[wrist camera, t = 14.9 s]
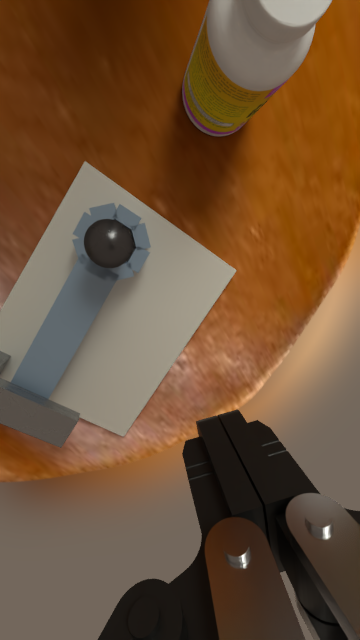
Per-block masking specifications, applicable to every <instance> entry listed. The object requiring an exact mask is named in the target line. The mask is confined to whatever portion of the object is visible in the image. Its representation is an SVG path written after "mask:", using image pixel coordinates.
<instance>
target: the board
mask: <svg viewBox="0 0 360 640" xmlns="http://www.w3.org/2000/svg"><path fill="white" fill-rule="evenodd" d="M110 203H114V204H115V207H116V210H117V208H118V206H119V204H121V205H122V206H124V207H125V208H127V209H128V210H130V211H131V212H133V213H134V214H136V215H137V216H139V217H140V218H141V220H140V222H139V224H142V223H145V225H146V230H147V234H148V238H149V242H150V246H151V247H150V248H146V249H145V250H147V251H148V252H150V254H149V256H148V257H147V259H146V261H145V262H144V264H143V266H142V268H141V269H140V271H139V273H137V272H136V271H134V270H133V272H134V276H133V277H129V278H125V279H121V280H117V281H116V282H115V284H114V286H113V288H112V289H111V291H110V293H109V295H108V296H107V298H106V300H105V302H104V303H103V305H102V307H101V309H100V310H99V312H98V314H97V315H96V317H95V319H94V321H93V322H92V324H91V326H90V328H89V329H88V331H87V333H86V335H85V336H84V338H83V340H82V342H81V343H80V345H79V347H78V348H77V350H76V352H75V354H74V355H73V357H72V359H71V361H70V362H69V364H68V366H67V368H66V369H65V371H64V373H63V375H62V376H61V378H60V380H59V382H58V383H57V385H56V387H55V388H54V390H53V392H52V394H51V395H50V397H49V400H51V401H54V402H56V403H58V404H60V405H62V406H65V407H67V408H69V409H71V410H74V411H76V412H78V413H80V416H79V417H80V418H82V419H84V420H86V421H89V422H91V423H93V424H96V425H98V426H100V427H102V428H105V429H107V430H109V431H111V432H114V433H116V434H118V435H120V436H123V437H124V436H125V434H126V433H127V431H128V430H129V428H130V427H131V425H132V424H133V422H134V421H135V420H136V418H137V417H138V415H139V414H140V412H141V411H142V409H143V408H144V406H145V405H146V403H147V402H148V400H149V399H150V397H151V396H152V394H153V393H154V392H155V390H156V389H157V387H158V386H159V384H160V383H161V381H162V380H163V378H164V377H165V375H166V374H167V372H168V371H169V369H170V368H171V366H172V365H173V364H174V362H175V361H176V359H177V358H178V356H179V355H180V353H181V352H182V350H183V349H184V347H185V346H186V344H187V343H188V341H189V340H190V338H191V337H192V336H193V334H194V333H195V331H196V330H197V328H198V327H199V325H200V324H201V322H202V321H203V319H204V318H205V316H206V315H207V313H208V312H209V310H210V309H211V308H212V306H213V305H214V303H215V302H216V300H217V299H218V297H219V296H220V294H221V293H222V291H223V290H224V288H225V287H226V285H227V284H228V282H229V281H230V279H231V278H232V277H233V275H234V274H235V272H236V271H237V270H235V269H234V268H233V267H231V266H230V265H228V264H227V263H226V262H224V261H223V260H221V259H220V258H219V257H217V256H216V255H215V254H213V253H212V252H210V251H209V250H208V249H206V248H205V247H203V246H202V245H201V244H199V243H198V242H197V241H195V240H194V239H192V238H191V237H190V236H188V235H187V234H185V233H184V232H183V231H181V230H180V229H179V228H177V227H176V226H174V225H173V224H172V223H170V222H169V221H167V220H166V219H165V218H163V217H162V216H160V215H159V214H158V213H156V212H155V211H154V210H152V209H151V208H149V207H148V206H147V205H145V204H144V203H142V202H141V201H140V200H138V199H137V198H136V197H134V196H133V195H131V194H130V193H129V192H127V191H126V190H124V189H123V188H122V187H120V186H119V185H118V184H116V183H115V182H113V181H112V180H111V179H109V178H108V177H106V176H105V175H104V174H102V173H101V172H99V171H98V170H97V169H95V168H94V167H93V166H91V165H90V164H88V163H87V162H86V161H85V162H84V164H83V165H82V167H81V169H80V171H79V172H78V174H77V176H76V178H75V180H74V181H73V183H72V185H71V187H70V188H69V190H68V192H67V194H66V195H65V197H64V199H63V201H62V203H61V204H60V206H59V208H58V210H57V211H56V213H55V215H54V217H53V218H52V220H51V222H50V224H49V225H48V227H47V229H46V231H45V233H44V234H43V236H42V238H41V240H40V241H39V243H38V245H37V247H36V248H35V250H34V252H33V254H32V256H31V257H30V259H29V261H28V263H27V264H26V266H25V268H24V270H23V271H22V273H21V275H20V277H19V278H18V280H17V282H16V284H15V286H14V287H13V289H12V291H11V293H10V294H9V296H8V298H7V300H6V301H5V303H4V305H3V307H2V308H1V310H0V351H2V352H4V353H6V354H8V355H10V356H11V357H10V359H9V361H8V362H7V364H6V366H5V367H4V369H3V371H2V372H1V374H0V378H2V379H4V380H7V381H9V382H11V380H12V379H13V377H14V375H15V373H16V371H17V369H18V368H19V366H20V364H21V362H22V360H23V359H24V357H25V355H26V353H27V351H28V349H29V348H30V346H31V344H32V342H33V340H34V338H35V337H36V335H37V333H38V331H39V329H40V327H41V326H42V324H43V322H44V320H45V318H46V317H47V315H48V313H49V311H50V309H51V307H52V306H53V304H54V302H55V300H56V298H57V296H58V295H59V293H60V291H61V289H62V287H63V285H64V284H65V282H66V280H67V278H68V276H69V274H70V273H71V271H72V269H73V267H74V265H75V264H76V262H77V260H78V256H77V253H76V250H75V247H74V244H73V241H72V240H73V239H77V238H78V237H77V236H75V235H73V232H74V230H75V228H76V226H77V225H78V223H79V221H80V219H81V217H82V215H83V213H84V212H86V213H88V214H89V215H91V213H90V210H89V208H92V207H97V206H101V205H106V204H110ZM127 229H128V228H127ZM128 231H129V232H130V234H131V237H132V241H133V249H132V252H133V250H134V249H135V243H134V240H133V236H132V232H131V230H129V229H128ZM131 254H132V253H131ZM130 256H131V255H130ZM127 261H128V260H127Z"/></svg>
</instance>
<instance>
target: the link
mask: <svg viewBox="0 0 360 640" xmlns="http://www.w3.org/2000/svg"><path fill="white" fill-rule="evenodd" d="M89 210H90V213H91V215H89V214H88V213H86V212H84V213H83V215H82V217H81V219H80V221H79V223H78V225H77V226H76V228H75V230H74V232H73V235H75V236H77V237H78V238H77V239H73V240H72V241H73V244H74V247H75V250H76V253H77V256H78V260H77V262H76V264H75V265H74V267H73V269H72V271H71V273H70V274H69V276H68V278H67V280H66V282H65V284H64V285H63V287H62V289H61V291H60V293H59V295H58V296H57V298H56V300H55V302H54V304H53V306H52V307H51V309H50V311H49V313H48V315H47V317H46V318H45V320H44V322H43V324H42V326H41V327H40V329H39V331H38V333H37V335H36V337H35V338H34V340H33V342H32V344H31V346H30V348H29V349H28V351H27V353H26V355H25V357H24V359H23V360H22V362H21V364H20V366H19V368H18V369H17V371H16V373H15V375H14V377H13V379H12V380H11V383H13V384H15V385H18V386H20V387H22V388H24V389H27V390H29V391H31V392H33V393H36V394H38V395H40V396H42V397H45V398H47V399H49V397H50V395H51V394H52V392H53V390H54V388H55V387H56V385H57V383H58V382H59V380H60V378H61V376H62V375H63V373H64V371H65V369H66V368H67V366H68V364H69V362H70V361H71V359H72V357H73V355H74V354H75V352H76V350H77V348H78V347H79V345H80V343H81V342H82V340H83V338H84V336H85V335H86V333H87V331H88V329H89V328H90V326H91V324H92V322H93V321H94V319H95V317H96V315H97V314H98V312H99V310H100V309H101V307H102V305H103V303H104V302H105V300H106V298H107V296H108V295H109V293H110V291H111V289H112V288H113V286H114V284H115V282H116V281H117V280H121V279H125V278H129V277H133V276H134V272H133V270H134V271H136V272H137V273H139V271H140V269H141V268H142V266H143V264H144V262H145V261H146V259H147V257H148V256H149V254H150V252H148V251H147V250H145V249H146V248H150V247H151V246H150V242H149V238H148V234H147V230H146V225H145V223H142V224H139V222H140V220H141V218H140V217H139V216H137V215H136V214H134V213H133V212H131V211H130V210H128V209H127V208H125V207H124V206H122V205H121V204H119V206H118V208H117V210H116V207H115V204H114V203H110V204H106V205H101V206H97V207H92V208H89ZM101 219H112V220H116V221H118V222H120V223H121V224H123V225H124V226H125V227H126V228H128V229H129V230H131V232H132V236H133V240H134V243H135V249H134V250H133V252H132V254H131V256H130V257H129V259H128V261H126V262H125V263H124V264H123V265H121V266H119V267H116V268H104V267H101V266H99V265H97V264H95V263H94V262H93V261H92V260H91V259H90V258H89V257H88V255H87V253H86V251H85V248H84V236H85V233H86V231H87V229H88V228H89V227H90V225H92V224H93V223H94V222H96V221H98V220H101Z"/></svg>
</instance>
